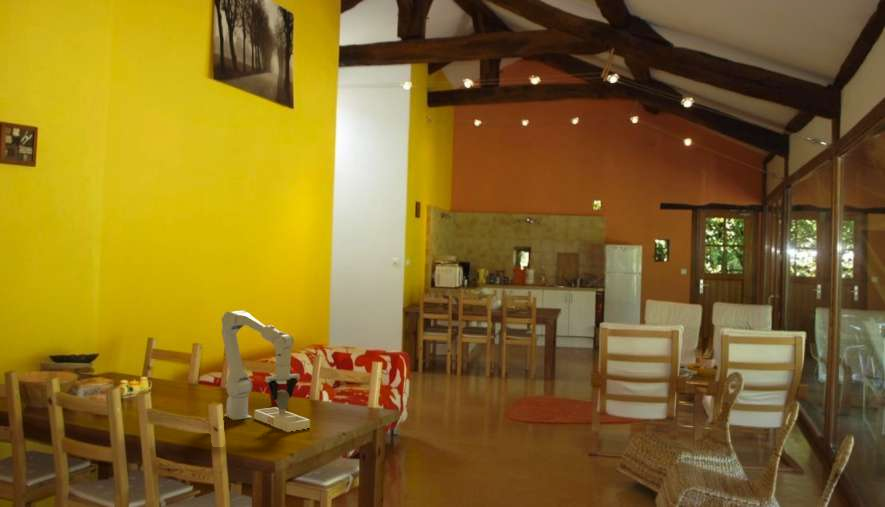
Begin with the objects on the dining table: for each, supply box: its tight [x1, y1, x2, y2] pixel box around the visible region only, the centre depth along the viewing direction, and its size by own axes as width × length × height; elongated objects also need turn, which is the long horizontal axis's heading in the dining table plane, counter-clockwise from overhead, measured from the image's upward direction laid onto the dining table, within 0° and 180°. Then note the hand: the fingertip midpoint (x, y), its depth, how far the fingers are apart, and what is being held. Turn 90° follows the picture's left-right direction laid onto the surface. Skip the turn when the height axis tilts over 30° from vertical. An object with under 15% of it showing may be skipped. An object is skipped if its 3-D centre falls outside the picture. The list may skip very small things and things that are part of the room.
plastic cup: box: [267, 379, 287, 408], centre depth 327 cm, size 11×11×12 cm
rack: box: [253, 407, 311, 433], centre depth 295 cm, size 27×10×4 cm, turn 42°
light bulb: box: [275, 390, 291, 415], centre depth 295 cm, size 6×6×10 cm
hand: (282, 398), depth 295 cm, fingers closed on light bulb, 6 cm apart
